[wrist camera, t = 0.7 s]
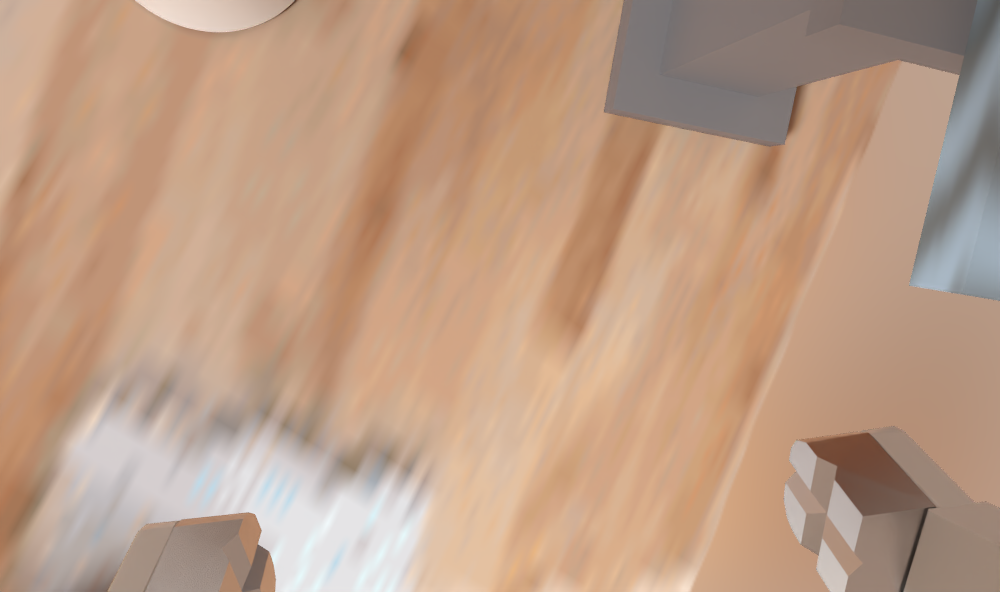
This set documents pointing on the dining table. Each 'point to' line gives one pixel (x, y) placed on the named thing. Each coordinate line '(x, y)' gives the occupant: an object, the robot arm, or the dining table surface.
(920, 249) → the block
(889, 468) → the robot arm
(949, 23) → the plinth
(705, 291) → the dining table surface
